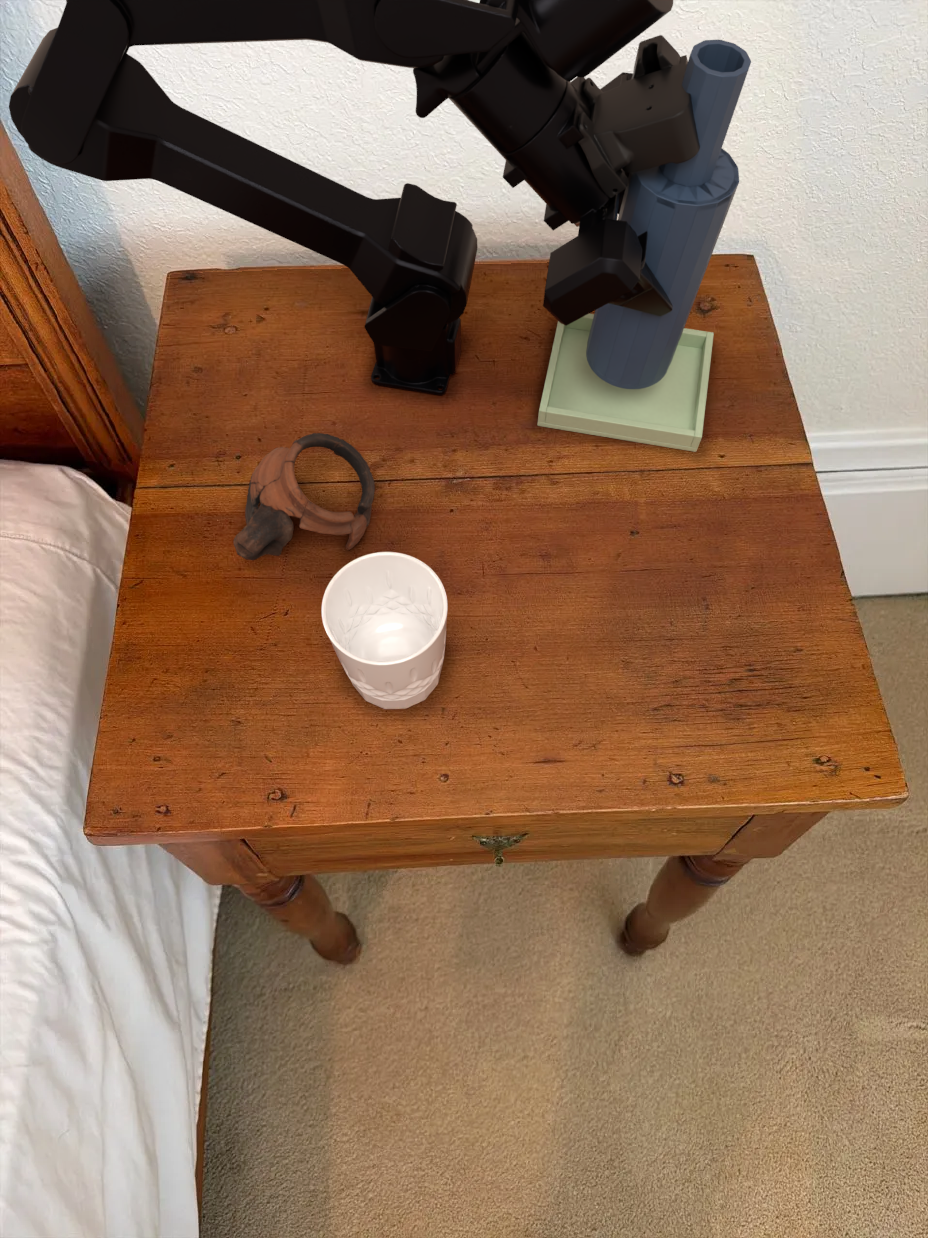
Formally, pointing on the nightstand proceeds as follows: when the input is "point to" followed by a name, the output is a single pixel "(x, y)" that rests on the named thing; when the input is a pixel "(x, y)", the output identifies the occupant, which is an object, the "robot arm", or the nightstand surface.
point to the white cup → (388, 627)
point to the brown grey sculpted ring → (298, 501)
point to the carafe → (675, 225)
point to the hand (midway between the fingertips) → (669, 274)
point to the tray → (627, 393)
